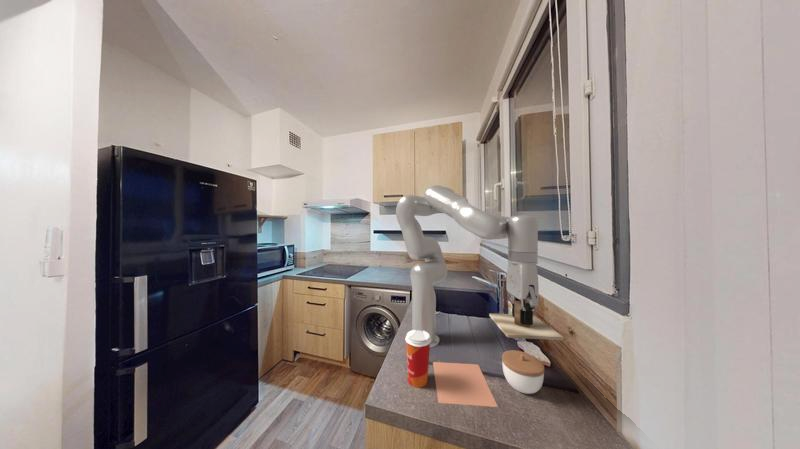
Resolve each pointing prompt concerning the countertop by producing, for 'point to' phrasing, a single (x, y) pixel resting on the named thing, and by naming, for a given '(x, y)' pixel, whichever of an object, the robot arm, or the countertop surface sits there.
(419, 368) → the paper cup
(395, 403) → the countertop surface
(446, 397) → the terracotta mat
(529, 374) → the lidded jar
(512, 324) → the birch lid
